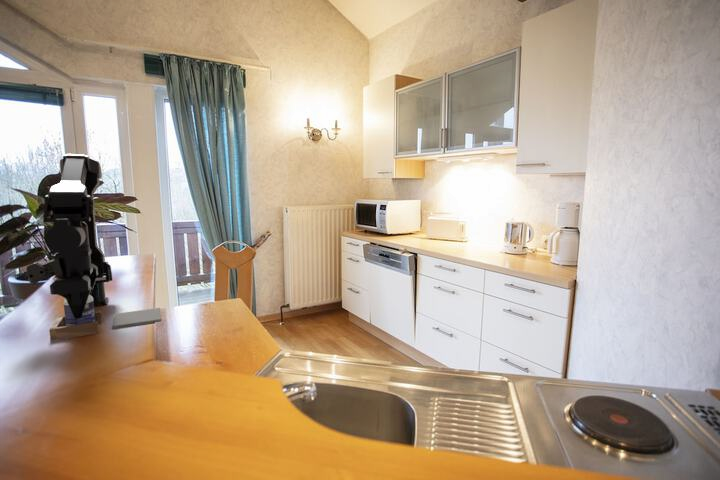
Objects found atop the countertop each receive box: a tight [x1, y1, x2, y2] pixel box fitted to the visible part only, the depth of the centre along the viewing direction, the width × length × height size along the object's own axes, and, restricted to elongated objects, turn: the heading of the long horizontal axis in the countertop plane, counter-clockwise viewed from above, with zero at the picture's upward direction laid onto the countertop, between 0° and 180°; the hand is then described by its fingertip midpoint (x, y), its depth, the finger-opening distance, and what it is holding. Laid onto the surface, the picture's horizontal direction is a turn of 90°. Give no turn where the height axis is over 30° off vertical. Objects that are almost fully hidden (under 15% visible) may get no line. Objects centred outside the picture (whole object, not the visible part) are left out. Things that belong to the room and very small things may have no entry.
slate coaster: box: [111, 307, 162, 330], centre depth 91 cm, size 10×10×1 cm
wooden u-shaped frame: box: [48, 310, 103, 342], centre depth 83 cm, size 9×8×2 cm
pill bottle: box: [63, 295, 96, 326], centre depth 83 cm, size 5×5×10 cm
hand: (80, 314), depth 83 cm, fingers closed on pill bottle, 5 cm apart
